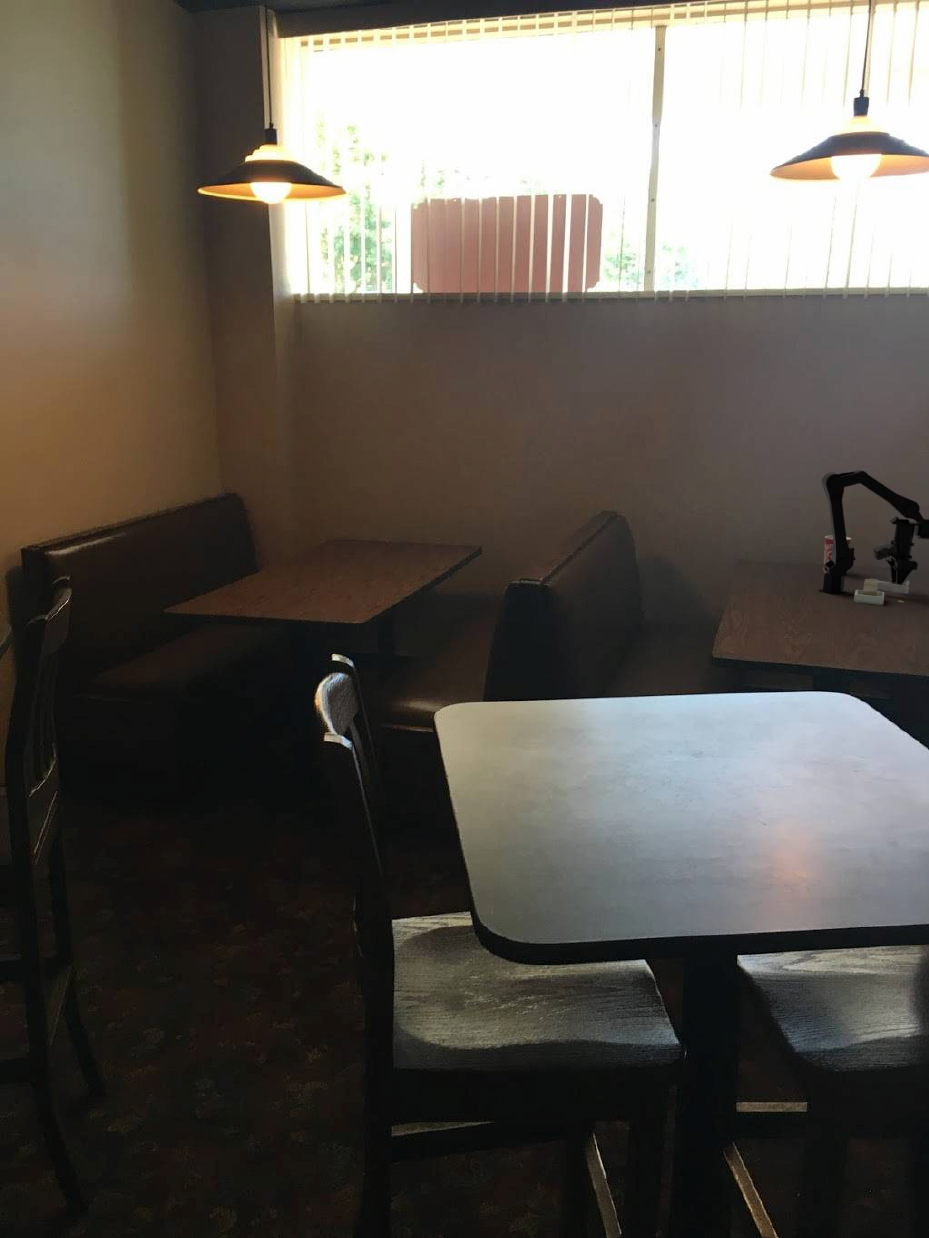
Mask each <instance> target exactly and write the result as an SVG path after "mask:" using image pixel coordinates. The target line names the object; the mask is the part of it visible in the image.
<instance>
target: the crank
mask: <svg viewBox="0 0 929 1238" xmlns="http://www.w3.org/2000/svg"><path fill="white" fill-rule="evenodd" d="M869 579H870V580H878V578H877V579H876V578H869ZM909 587H910V580H905V581H904V582H903V583H902V584H898V583H892V581H891V582H890V581H883V580H878V588H877V589H878V590H881V591H886V592H892V593H899V594H909Z"/></svg>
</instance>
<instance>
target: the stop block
mask: <svg viewBox="0 0 929 1238" xmlns="http://www.w3.org/2000/svg"><path fill="white" fill-rule="evenodd" d="M870 579H871V578H868V579H867V578H864V583H863V589H862V590H863V595H869V596H877V588H878V581H879V579H877V580H870Z"/></svg>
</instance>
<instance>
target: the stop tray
mask: <svg viewBox="0 0 929 1238" xmlns="http://www.w3.org/2000/svg"><path fill="white" fill-rule="evenodd" d="M854 592H855V593H854V596H853V603H859V604H867V605H877V606H883V605H884V603H885V602H884V600H885V592H884V591H880V592H877V596H869V595H863V589H855V591H854Z"/></svg>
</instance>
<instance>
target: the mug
mask: <svg viewBox="0 0 929 1238" xmlns="http://www.w3.org/2000/svg"><path fill="white" fill-rule="evenodd" d="M846 538H847V544H848V545H850V546H851V541H852V537H849V536H846ZM832 548H833V535H826V536H824V554H823V555H824V556H823V565H824V564H826V563H827V562H828V561H829V560H831V555H832ZM822 570H823V571H822V572H823V574H825V573H826V571H825V570H824V567H823V569H822Z"/></svg>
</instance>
